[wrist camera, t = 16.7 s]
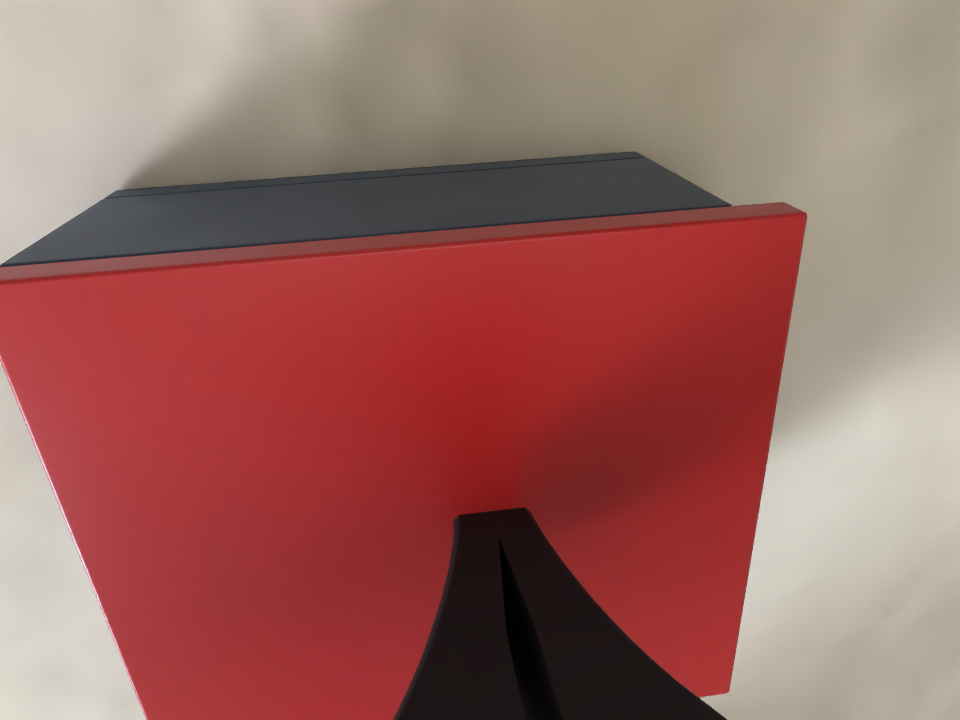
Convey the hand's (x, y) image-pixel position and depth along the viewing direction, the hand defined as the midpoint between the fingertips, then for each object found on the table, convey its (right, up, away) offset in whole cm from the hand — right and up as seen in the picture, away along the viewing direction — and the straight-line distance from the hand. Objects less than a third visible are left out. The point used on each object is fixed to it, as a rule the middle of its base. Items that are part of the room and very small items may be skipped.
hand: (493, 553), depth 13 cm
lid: (-1, 0, +1) cm, 2 cm away
